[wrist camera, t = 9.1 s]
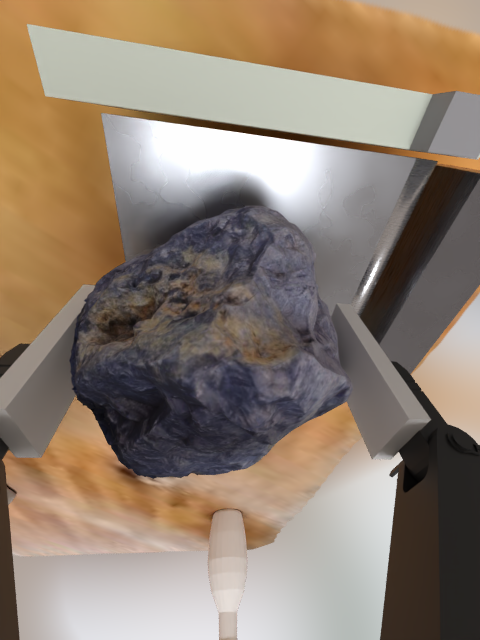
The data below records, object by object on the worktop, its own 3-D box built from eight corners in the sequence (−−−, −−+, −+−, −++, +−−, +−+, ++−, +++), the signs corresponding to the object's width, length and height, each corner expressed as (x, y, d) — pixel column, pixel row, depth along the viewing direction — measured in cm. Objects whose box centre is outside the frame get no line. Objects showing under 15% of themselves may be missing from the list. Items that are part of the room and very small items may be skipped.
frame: (152, 298, 31) (113, 393, 20) (129, 75, 19) (-1, 10, 8) (309, 310, 33) (351, 401, 22) (376, 115, 21) (538, 105, 10)
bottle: (215, 520, 84) (212, 645, 64) (204, 510, 78) (197, 645, 57) (248, 516, 83) (256, 642, 63) (240, 505, 76) (245, 641, 56)
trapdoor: (156, 319, 25) (136, 376, 19) (136, 116, 15) (84, 111, 10) (363, 332, 27) (400, 387, 21) (454, 162, 18) (561, 179, 12)
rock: (30, 316, 11) (12, 620, 4) (207, 164, 12) (447, 180, 5) (181, 401, 18) (268, 553, 11) (281, 303, 19) (416, 387, 12)
